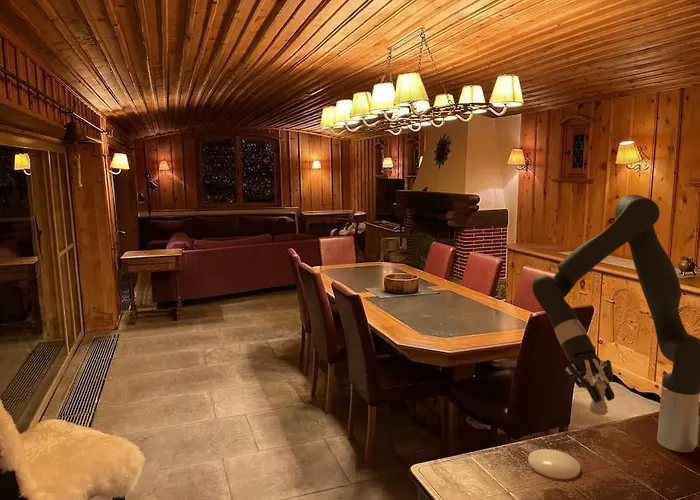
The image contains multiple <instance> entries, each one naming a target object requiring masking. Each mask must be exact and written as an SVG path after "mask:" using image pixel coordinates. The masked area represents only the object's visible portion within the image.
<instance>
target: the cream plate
mask: <svg viewBox="0 0 700 500" xmlns="http://www.w3.org/2000/svg"><path fill="white" fill-rule="evenodd" d="M527 459H528V460H527V461H528V465H529V466H530V468H531V469H532V470H534V471H535V472H537V473H539V474H540V475H542V476H544V477H547V478H551V479H555V480H572V479H575V478H577V477H578V476H579V475H580V473H581V465H580V463H579V461H578V460H577V459H576V458H574V457H573V456H571V455H570V454H568V453H565V452H563V451H559V450H555V449H549V448H547V449H546V448H541V449H536V450H533V451H532V452H530V453H529V455H528V458H527Z"/></svg>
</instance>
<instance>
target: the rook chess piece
mask: <svg viewBox="0 0 700 500" xmlns="http://www.w3.org/2000/svg"><path fill="white" fill-rule="evenodd" d="M594 386H596V388H597V390H598V392H599V394H600V396H601V397H602V401H600V402H598V403H595V401H593V400H592V399H591V402H590V403H589V407H588V410H589V411H590V413H592V414H594V415H598V416H605V415H607V414H608V409H609V408H608V405H607V403H606V400H605V398H606V397H605V389H606V388H607V386H606V385H605V382H603V380H602V381H601V382H599V381H597V380H594Z"/></svg>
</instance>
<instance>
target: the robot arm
mask: <svg viewBox="0 0 700 500" xmlns="http://www.w3.org/2000/svg"><path fill="white" fill-rule="evenodd" d="M614 212H615V213H614V214H615V220H614V221H613V222H612V223H611V224H610V225H609V226H608V227H607V228H605V229H604V230H603V231H602V232H600V233H599V234H597V235H595V236H594V237H593V238H591V239H589V240H587V241H585V242H584V243H582V244H581V245H579V246H578V247H577V248H575V249H574V250H573V251H572V252H570V253H569V254H568V255H567V256H566V257H565V258H564V259H563V260H562V261H560V262H559V264H558V265H557V269H558V271H557V272H556V273H555V275H554V276H553V277H551V276H549V275H546V274H543V275H539V276H537V277H535V278H534V280H533V281H532V284H531V286H532V287H531V288H532V293H533V295H534V297H535V299H536V300H537V302H538V304H539V305H540V307H541V308H542V310H543V312H544V313H545V314H546V316H547V317H548V321H549V322H550V324H551V326H552V329H553V330H554V333H555V335H556V339H557V340H558V342H559V344H560V345H559V346H561V349H562V351H563V352H564V355H565V357H566V358H567V360H568V361H569V362H570V364H569V365H568V366H567V367H565V368H564V369H563V370H564V372H565V373H566V374H567V376H568V377H569V378H570V379H571V381H573V383H574V384H576V386H577V387H578V388H579V389H582V388H584V389H585V390H587V392H588V393H589V396H590V397H591V401H592V400H593V401H595V403H598V402H600V401H602V397H601V396H600V394H599V392H598V390H597V388H596V386H594V383H595V381H596V382H597V381H599V382H601V381H603V382H605V385H606V386H607V388H606V389H605V395H604V398H606V400H607V401H610V402H611V401H612V400H614V399H615V395H616V394H615V392H614V391H613V389H612V387H611V385H610V384H611V382H613V381H614V379H615V378H614V373H613V368H612V362H611V360H610V359H607V360H603V359H601V358H600V357H599V356H598V355H597V353H596V348H595V346H594V344H593V342H592V341H591V338H590V335H588V333H587V331H586V329H585V327H584V326H583V324H582V323H581V322H580V320H579V318H578V315H576V312H575V310H574V309H573V307H572V306H571V305H570V303H568V302H567V301H566V299H565V297H567V296H568V294H569V293H570V292H571V291H572V289H573V288H574V287H575V286H576V284H577V282H578V281H579V280H581V279H582V278H583V277H585V276H586V275H587V274H588V273H589V272H590V271H592V270H593V269H594V268H595V267H596V266H598V264H600V263H601V262H602V261H603V260H604V259H606V258H607V257H608V256H610V255H611V254H612V253H614V252H615V251H616V250H618V249H619V248H621V247H622V246H623V245H625V244H626V243H628V246H629V249H630V253H631V257H632V261H633V264H634V268H635V271H636V274H637V278H638V282H639V284H640V287H641V290H642V293H643V295H644V298H645V302H646V304H647V307H648V309H649V312H650V315H651V318H652V321H653V324H654V329H655V333H656V334H655V335H656V339H657V343H658V347H659V350H660V352H661V354H662V355H663V356H664V357H665V359H667V360H668V361H670V362H672V369H671V372H670V373H665V374H664V375H663V377H662V379H661V390H660V391H661V392H660V400H659V401H660V403H659V405H660V406H659V415H658V423H657V425H658V427H657V437H656V441H657V443H658V444H659V445H660V446H662V447H664V448H665V449H668V450H670V451H673V452H677V453H691V452H694V451H695V448H697V447H698V441H699V439H698V438H699V429H700V427H699V426H700V415H699V408H700V338H698V337H696V336H694V335H691V334H690V333H688V332H687V330H686V328H685V326H684V324H683V322H682V318H681V316H680V309H679V308H680V303H681V298H682V287H681V283H680V281H679V278H678V274H677V271H676V269H675V267H674V265H673V262H672V260H671V259H670V257H669V255H668V254H667V252H666V250H665V249H664V247H663V246H662V244H661V242H660V241H659V238H658V236H657V233H656V231H655V226H654V225H656V223H657V222H658V220H659V217H660V212H661V211H660V207H659V206H658V204H657V203H656V202H655V201H654V200H652V199H651V198H648V197H646V196H644V195H639V194H628V195H627V194H626V195H624V196H623V197H621V198H620V200H619V201H617V204H616V206H615V211H614Z"/></svg>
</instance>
